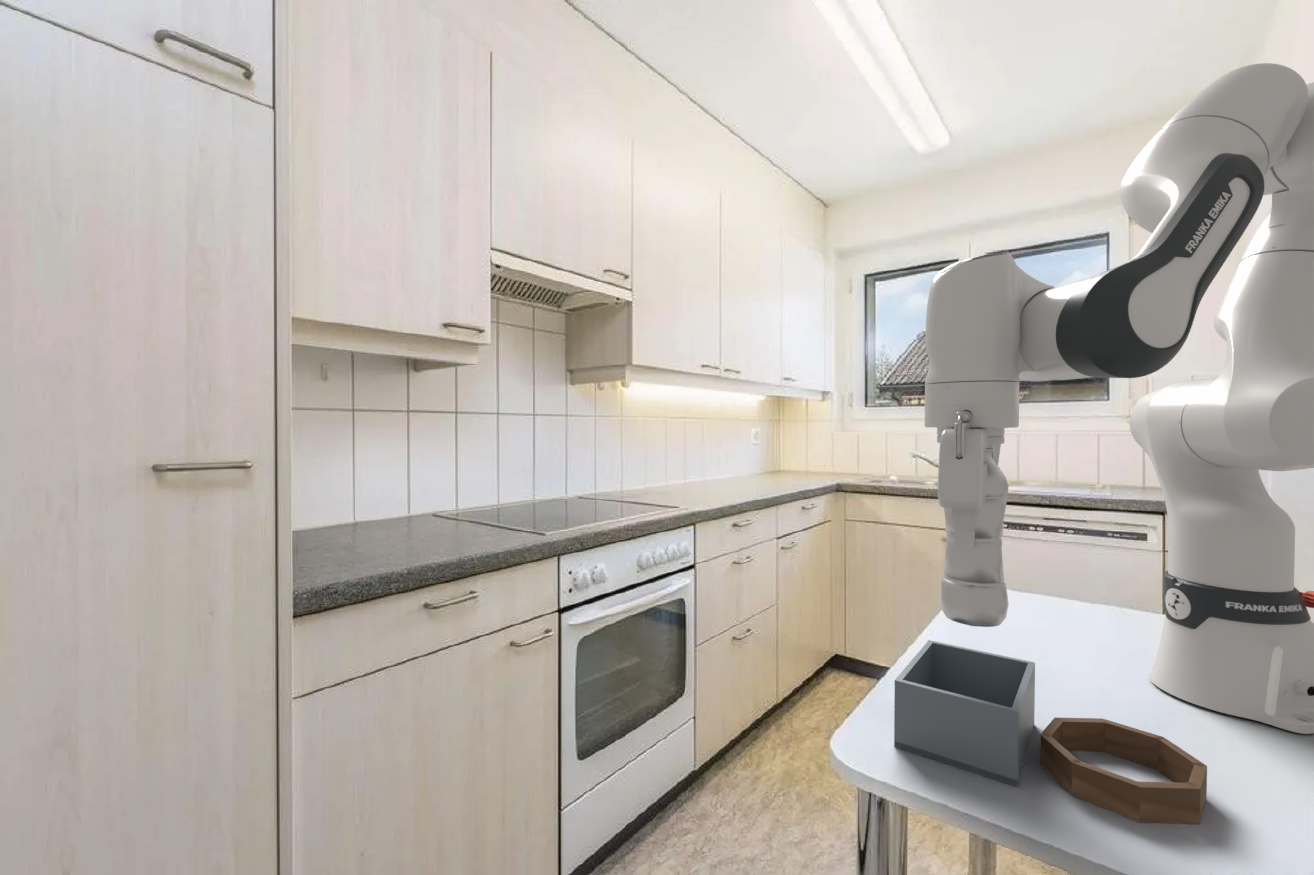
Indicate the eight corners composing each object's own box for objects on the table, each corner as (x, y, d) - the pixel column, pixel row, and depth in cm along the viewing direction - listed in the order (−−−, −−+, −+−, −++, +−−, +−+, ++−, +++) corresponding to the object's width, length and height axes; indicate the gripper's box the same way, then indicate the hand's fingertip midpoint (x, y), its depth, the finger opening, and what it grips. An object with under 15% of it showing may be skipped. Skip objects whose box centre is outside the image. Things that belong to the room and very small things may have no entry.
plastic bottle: (938, 628, 60) (940, 434, 60) (939, 611, 66) (940, 435, 67) (1011, 638, 58) (1013, 434, 58) (1005, 619, 64) (1006, 435, 64)
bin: (928, 696, 72) (928, 640, 72) (1034, 724, 65) (1035, 662, 65) (894, 746, 61) (894, 680, 61) (1017, 786, 54) (1018, 712, 54)
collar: (1136, 747, 61) (1137, 719, 60) (1242, 825, 49) (1243, 789, 49) (1020, 745, 61) (1020, 716, 61) (1097, 820, 50) (1098, 785, 49)
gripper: (998, 409, 52) (996, 565, 52) (1009, 412, 69) (1007, 529, 69) (921, 410, 55) (919, 556, 56) (949, 412, 72) (948, 524, 73)
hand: (968, 541), depth 63 cm, fingers closed on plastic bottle, 6 cm apart
